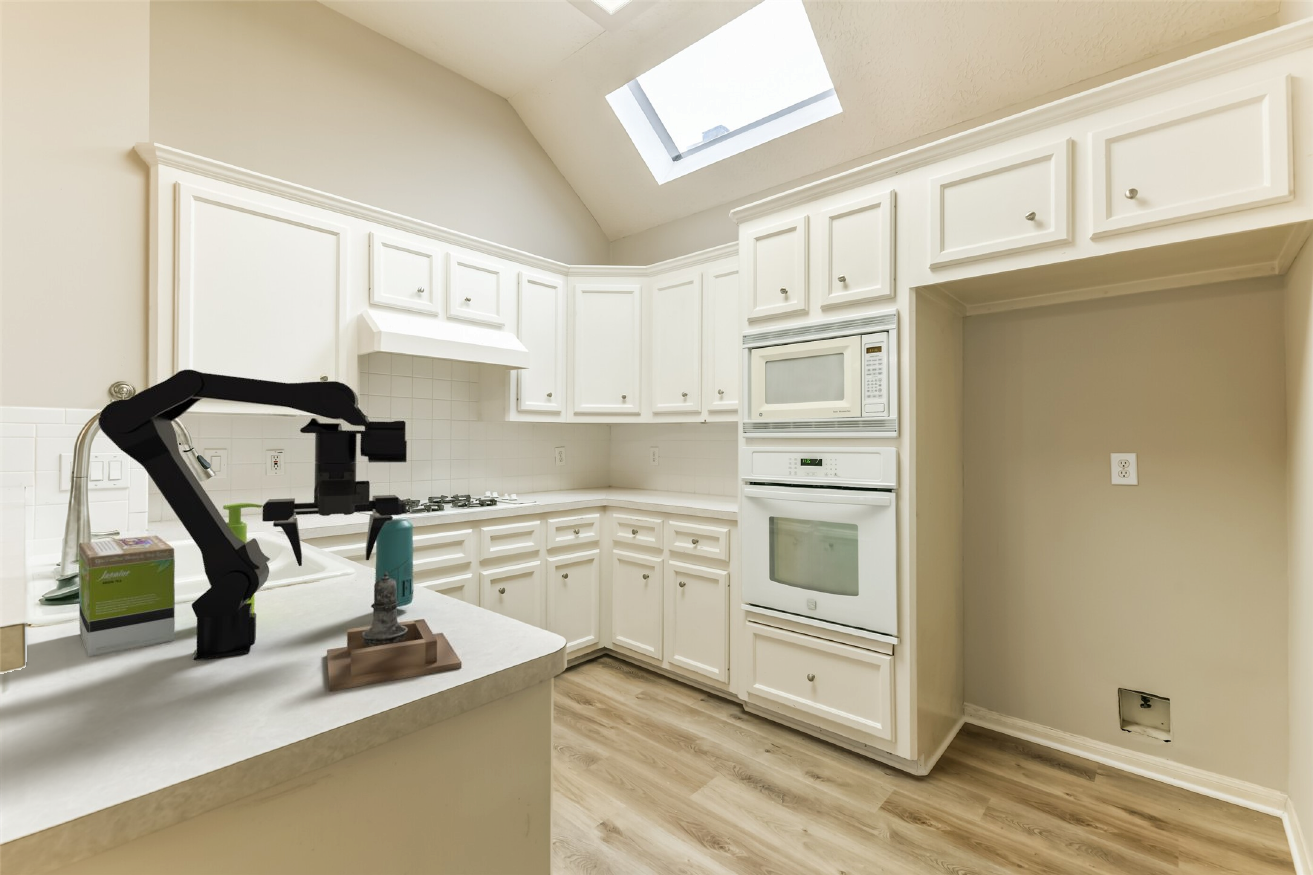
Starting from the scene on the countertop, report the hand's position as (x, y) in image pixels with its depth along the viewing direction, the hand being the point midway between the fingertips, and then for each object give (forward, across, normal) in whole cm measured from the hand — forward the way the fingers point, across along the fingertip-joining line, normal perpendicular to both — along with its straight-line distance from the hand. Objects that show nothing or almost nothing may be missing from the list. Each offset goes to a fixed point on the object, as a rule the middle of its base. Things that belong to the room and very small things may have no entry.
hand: (334, 562), depth 92 cm
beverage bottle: (+12, +10, +12) cm, 20 cm away
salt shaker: (+11, +6, -14) cm, 19 cm away
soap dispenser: (+12, -14, +18) cm, 26 cm away
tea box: (+12, -28, +16) cm, 35 cm away
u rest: (+12, +7, -14) cm, 20 cm away
